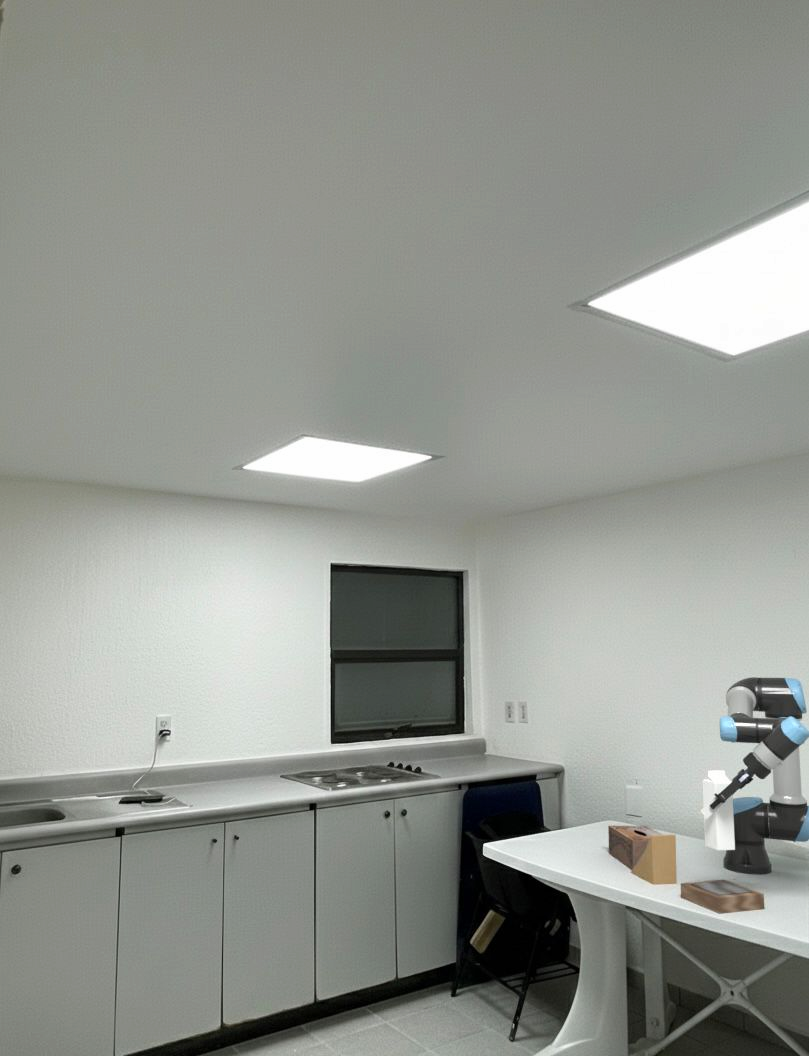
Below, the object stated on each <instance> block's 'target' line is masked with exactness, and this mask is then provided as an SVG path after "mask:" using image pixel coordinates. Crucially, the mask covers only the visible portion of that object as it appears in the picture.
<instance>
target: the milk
mask: <svg viewBox="0 0 809 1056" xmlns="http://www.w3.org/2000/svg"><path fill="white" fill-rule="evenodd" d="M701 781H702V805H703V806H702V807H703V808H704V807H705V806H706V805H707V804H708V803H709V802H710V801H711V800H712V799H713V798H715V797H716V796H715V795H714V794H715V793H716V794H717V795H718V794H719V793H721V792H722V791H723V790H724V789H725V788H726V787H727V786H728V785H729V784H730V783H731V782H732V780H730V779H729V778H728V776H726V770H724V769H720V770H715V769H714V770H708V771H707V776H706V777H705V778H704V779H702V780H701ZM733 795H734V794H733ZM733 795H731V796H730V797H729V798H728V799H727V800H726V802H725V803H723V804H722V805H721V806H720V807H719V808H718V809H717V810H716V811H715V812H714V813H713V814H712V815H711V816H709V817H708V818H706V817H705V816H704V815H703V826H704V827H703V829H704V830H703V832H704V847H706V848H709V849H712V850H715V851H720V852H721V851H726V850H735V838H734V816H733V799H734V798H733ZM703 808H702V809H703Z"/></svg>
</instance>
